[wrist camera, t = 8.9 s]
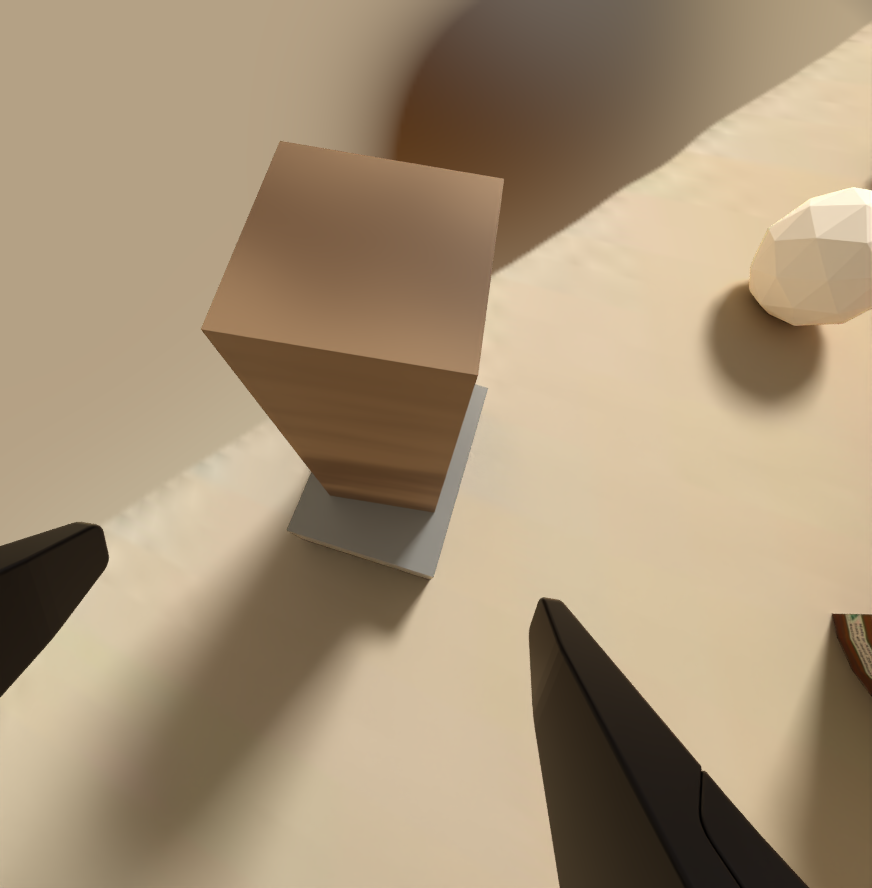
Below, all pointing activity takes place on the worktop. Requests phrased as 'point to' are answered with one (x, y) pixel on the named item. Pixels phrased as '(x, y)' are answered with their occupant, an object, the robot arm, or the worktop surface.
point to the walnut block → (362, 315)
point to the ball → (817, 261)
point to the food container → (857, 644)
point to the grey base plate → (388, 515)
